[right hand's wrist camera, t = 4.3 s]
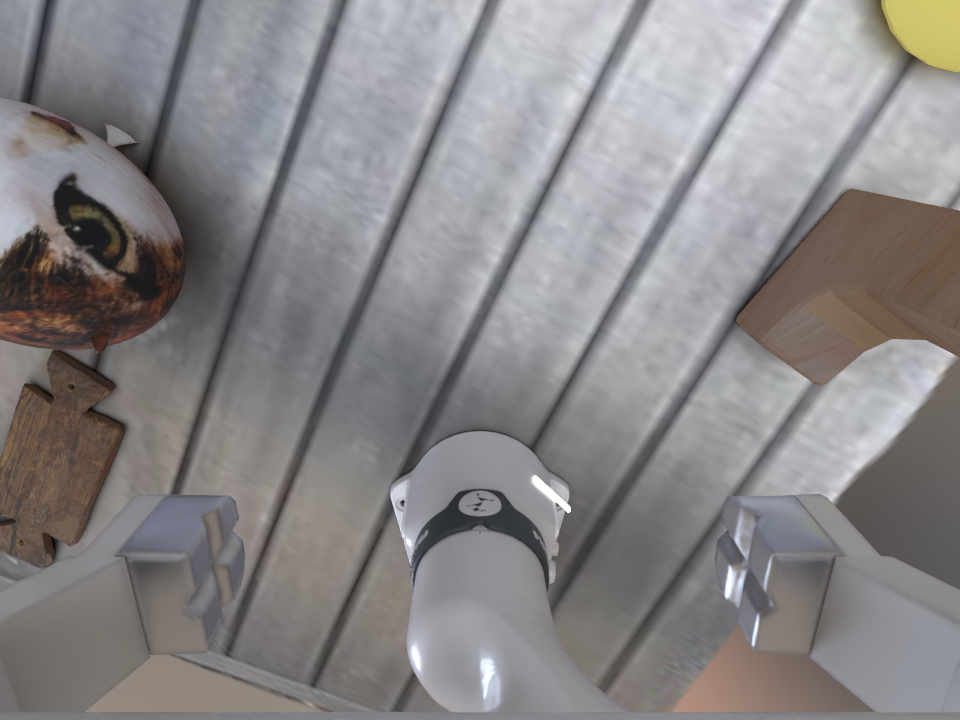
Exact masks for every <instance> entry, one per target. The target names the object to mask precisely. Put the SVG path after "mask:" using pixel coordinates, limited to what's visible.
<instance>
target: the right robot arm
mask: <svg viewBox="0 0 960 720" xmlns="http://www.w3.org/2000/svg"><path fill="white" fill-rule="evenodd" d="M569 496H570V490H569V486H568V484H567V483H566V482H565V481H563V480H562V479H560V478H559V477H557V476H555V475H554V474H552V473H550V472H549V471H548V470H547V469H546V468H545V467H544V466H543V464H542V463H541V462H540V460H539V459H538V458H537V456H536V455H535V454H534V453H533V452H532V451H531V450H530V449H529V448H528V447H526V446H525V445H524V444H522V443H521V442H519V441H517V440H516V439H514V438H511V437H509V436H506V435H503V434H500V433H495V432H489V431H472V432H465V433H460V434H457V435H454V436H451V437H449V438H446V439H444V440H443V441H441V442H439V443H438V444H436V445H435V446H434V447H432V448H431V449H430V450H429V451H428V452H427V453H426V454H425V455H424V456H423V458H422V459H421V460H420V462H419V463H418V465H417V466H416V467H415V468H414V469H413V470H412V471H411V472H410V473H408V474H406V475H405V476H403V477H401V478H400V479H398V480H397V481H395V482H394V483H393V484H392V486H391V491H390V497H391V500H392V504H393V507H394V510H395V514H396V517H397V521H398V524H399V527H400V531H401V535H402V538H403V541H404V544H405V548H406V551H407V555H408V558H409V561H410V565H411V567H410V570H411V586H412V591H413V598H412V605H411V612H410V620H409V627H408V634H407V651H408V657H409V660H410V663H411V666H412V668H413V671H414V673H415V674H416V676H417V678H418V679H419V681H420V682H421V684H422V685H423V687H424V688H425V690H426V691H427V692H428V693H429V695H430V696H431V697H432V698H433V699H434V700H435V701H436V702H437V703H439V704H440V705H441V706H443V707H444V708H446V709H447V710H449V711H451V712H85V711H86V710H87V709H89V708H90V707H91V706H92V705H93V704H95V703H96V702H97V701H98V700H99V699H101V698H102V697H103V696H104V695H105V694H107V693H108V692H109V691H110V690H111V689H113V688H114V687H115V686H116V685H118V684H119V683H120V682H121V681H122V680H124V679H125V678H126V677H127V676H129V675H130V674H131V673H132V672H133V671H135V670H136V669H137V668H138V667H139V666H141V665H142V664H143V663H144V662H145V661H147V660H148V659H149V658H150V655H163V654H198V653H207V651H208V649H209V647H210V645H211V643H212V641H213V639H214V638H215V636H216V634H217V632H218V630H219V628H220V626H221V624H222V622H223V614H222V609H221V608H222V607H223V606H225V605H226V604H228V603H229V602H230V601H232V600H233V599H234V598H235V596H236V594H237V592H238V590H239V588H240V586H241V581H242V577H243V572H244V566H245V553H244V546H243V541H242V539H241V538H240V537H239V536H238V535H237V534H236V533H235V532H234V531H233V530H232V529H233V527H234V526H235V524H236V522H237V520H238V519H239V516H238V512H237V507H236V502H235V500H234V499H233V498H232V497H230V496H209V495H167V494H164V495H139V496H135V497H133V498H132V499H131V500H130V501H129V502H128V503H127V505H126V506H125V507H124V508H123V509H122V510H121V511H120V512H119V513H118V514H117V515H116V517H115V518H114V519H113V520H112V521H111V522H110V523H109V524H108V525H107V526H106V528H105V529H104V530H103V531H102V532H101V533H100V534H99V535H98V536H97V537H96V539H95V540H94V541H93V542H92V543H91V544H90V545H89V546H88V547H87V548H86V549H85V551H84V552H83V553H82V554H81V555H80V556H69V557H67V558H65V559H63V560H61V561H59V562H57V563H55V564H53V565H51V566H48V567H46V568H44V569H42V570H40V571H38V572H36V573H34V574H32V575H30V576H28V577H26V578H24V579H22V580H20V581H18V582H16V583H14V584H11V585H9V586H7V587H5V588H3V589H1V590H0V720H960V590H959V589H956V588H955V587H952V586H950V585H948V584H946V583H944V582H942V581H940V580H938V579H936V578H934V577H932V576H930V575H928V574H926V573H924V572H922V571H920V570H918V569H916V568H913V567H911V566H909V565H907V564H905V563H903V562H901V561H899V560H897V559H895V558H893V557H890V556H880V555H879V554H878V553H877V552H876V551H875V549H874V548H873V547H872V546H871V545H870V544H869V543H868V542H867V541H866V540H865V539H864V537H863V536H862V535H861V534H860V533H859V532H858V531H857V530H856V529H855V528H854V526H853V525H852V524H851V523H850V522H849V521H848V520H847V519H846V518H845V517H844V515H843V514H842V513H841V512H840V511H839V510H838V509H837V508H836V507H835V506H834V504H833V503H832V502H831V501H830V500H829V499H828V498H827V497H825V496H822V495H820V494H809V495H789V496H745V497H727V499H726V501H725V503H724V505H723V511H722V516H721V519H722V520H723V522H724V524H725V526H726V527H727V529H728V530H727V531H726V532H725V533H724V534H723V535H722V536H721V537H720V538H719V539H718V541H717V547H716V555H715V562H716V574H717V578H718V581H719V585H720V588H721V590H722V592H723V594H724V596H725V598H726V599H727V600H728V601H730V602H731V603H732V604H734V605H735V606H737V607H738V608H739V609H738V614H737V622H738V624H739V626H740V628H741V630H742V632H743V634H744V635H745V637H746V639H747V641H748V643H749V645H750V647H751V649H752V651H753V653H761V654H798V655H810V658H811V659H812V660H814V661H815V662H816V663H817V664H818V665H820V666H821V667H822V668H823V669H825V670H826V671H827V672H828V673H829V674H831V675H832V676H833V677H834V678H835V679H837V680H838V681H839V682H840V683H841V684H843V685H844V686H845V687H846V688H847V689H849V690H850V691H851V692H852V693H853V694H855V695H856V696H857V697H858V698H860V699H861V700H862V701H863V702H864V703H866V704H867V705H868V706H869V707H870V708H872V709H873V710H874V711H875V712H630V711H628V710H627V709H625V708H623V707H622V706H621V705H619V704H618V703H616V702H615V701H614V700H612V699H611V698H610V697H608V696H607V695H606V694H605V693H604V692H602V691H601V690H600V689H599V688H598V687H597V686H596V685H594V684H593V683H592V682H591V681H590V680H589V679H588V678H587V677H586V676H585V675H584V674H583V672H582V671H581V670H580V669H579V668H578V667H577V666H576V665H575V663H574V662H573V661H572V660H571V658H570V657H569V656H568V654H567V653H566V651H565V650H564V648H563V647H562V645H561V643H560V641H559V639H558V636H557V633H556V630H555V627H554V623H553V619H552V615H551V611H550V606H549V601H548V596H547V591H548V586H549V584H552V583H554V581H555V576H556V563H555V561H553V560H551V558H552V556H557V555H558V551H559V543H558V542H556V541H557V538H558V535H559V531H560V528H561V524H562V521H563V517H564V514H565V511H567V512H568V513H569V512H570V511H571V510H570V506H569V505H567V504H568V500H569ZM402 500H405V501H404V503H403V502H401V501H402ZM556 502H557V503H556Z"/></svg>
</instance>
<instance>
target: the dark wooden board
mask: <svg viewBox="0 0 960 720" xmlns="http://www.w3.org/2000/svg"><path fill="white" fill-rule="evenodd" d="M47 369H48V374H49V378H50V382H51V389H52V393H53V397H54V398H52V397H51V396H48V395H47V394H46V393H45V392H43V391H42V390H40V389H39V388H37V387H35V386H33V385H31V384H26V383H25V385H24V386H23V388H22V392H21V394H20V397H19V401H18V404H17V407H16V410H15V414H14V418H13V421H12V423H11V426H10V430H9V433H8V436H7V440H6V443H5V447H4V450H3V454H2V457H1V460H0V516H5V517H8V518H12V519H14V520H9V521H5V522H1V523H0V550H1V551H3V552H6V553H7V554H9V555H11V556H14V557H17V558H18V559H20V560H22V561H24V562H27V563H30V564H31V565H34V566H36V567H39V568H40V567H46V566H49V565H50V564H51V562H52V559H53V555H54V553H55V551H54V549H53V543H52V540H51V536H52V537H54V538H55V539H58V540H60V541H63V542H64V543H66V544H67V545H69V546H73V545H75V544H77V543H78V542H79V540H80V538H81V536H82V534H83V532H84V529H85V526H86V524H87V521H88V518H89V514H90V511H91V508H92V506H93V504H94V502H95V499H96V497H97V495H98V493H99V490H100V488H101V486H102V484H103V481H104V479H105V477H106V475H107V473H108V471H109V468H110V466H111V463H112V461H113V459H114V456H115V454H116V451H117V449H118V446H119V444H120V441H121V439H122V436H123V433H124V431H123V430H122V426H121V425H120V424H119V423H117V422H115V421H112V420H111V419H109V418H107V417H105V416H103V415H100V414H97V413H95V412H93V411H90V410H89V408H90V407H91V406H93V405H95V404H96V403H98V402H99V401H101V400H102V399H103V398H105V397H106V396H107V395H108V394H109V393H111V392H112V391H113V389H114V387H115V386H114V385H113V384H112V383H111V382H109V381H108V380H106V379H105V378H103V377H102V376H101V375H99V374H98V373H96V372H94V371H92V370H90V369H89V368H87V367H86V366H84V365H82V364H81V363H79V362H77V361H76V360H74V359H72V358H70V357H68V356H66V355H65V354H63V353H62V352H60V351H58V350H54V351H52V353H51V355H50V357H49V359H48V362H47ZM50 535H51V536H50Z"/></svg>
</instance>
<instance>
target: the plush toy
mask: <svg viewBox="0 0 960 720" xmlns="http://www.w3.org/2000/svg"><path fill="white" fill-rule="evenodd" d="M105 125H106V129H107V142H106V141H104V140H103V139H101V138H100V137H98V136H97V135H96V134H94V133H92V132H90V131H89V130H87V129H85V128H84V127H82V126H80V125H78V124H76V123H74V122H72V121H70V120H68V119H66V118H64V117H62V116H59V115H57V114H55V113H53V112H50V111H47V110H45V109H42V108H39V107H36V106H33V105H30V104H27V103H24V102H19V101H15V100H11V99H7V98H3V97H0V339H1V340H5V341H8V342H12V343H16V344H21V345H26V346H31V347H37V348H46V349H58V350H80V349H92V348H94V349H95V350H96V351H97V352H98V353H99V354H101V353H102V352H103V350H104V349H105V348H106V346H109V345H113V344H117V343H120V342H123V341H126V340H128V339H131V338H133V337H135V336H137V335H139V334H141V333H143V332H145V331H146V330H148V329H149V328H151V327H152V326H154V325H155V324H156V323H157V322H158V321H159V320H161V319H162V318H163V317H164V316H165V315H166V314H167V312H168V311H169V310H170V309H171V307H172V306H173V304H174V302H175V301H176V299H177V297H178V295H179V292H180V290H181V287H182V283H183V279H184V273H185V252H184V246H183V241H182V237H181V234H180V231H179V228H178V225H177V223H176V221H175V219H174V216H173V214H172V212H171V210H170V209H169V207H168V205H167V204H166V202H165V200H164V199H163V197H162V196H161V194H160V193H159V192H158V190H157V189H156V188H155V186H154V185H153V184H152V183H151V182H150V180H149V179H148V178H147V177H146V176H145V175H144V174H143V173H142V172H141V171H140V169H139V168H138V167H137V166H135V165H134V164H133V163H132V162H131V161H130V160H129V159H128V158H127V157H125V156H124V155H123V154H122V153H121V152H119V151H118V150H117V149H115V148H114V147H117V146H120V145H125V144H135V143H138V142H136V141H135V140H134V139H133V138H132V137H130V136H129V135H128V134H126V133H125V132H123V131H121V130H120V129H118V128H116V127H114V126H112V125H108V124H105Z"/></svg>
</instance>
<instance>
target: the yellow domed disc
mask: <svg viewBox="0 0 960 720" xmlns="http://www.w3.org/2000/svg"><path fill="white" fill-rule="evenodd" d="M881 5H882V9H883V12H884V15H885V17H886V20H887V23H888V26H889V28H890V31H891V32H892V34H893V35H894V36H895V37H896V39H897V40H898V41H899V43H900V44H901V45H902V47H903V48H904V49H905V50H906V51H908V52H909V53H911V54H912V55H914V56H915V57H917V58H919V59H920V60H922V61H923V62H925V63H926V64H928V65H930V66H933V67H937V68H941V69H945V70H949V71H953V72H960V0H881Z"/></svg>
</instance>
